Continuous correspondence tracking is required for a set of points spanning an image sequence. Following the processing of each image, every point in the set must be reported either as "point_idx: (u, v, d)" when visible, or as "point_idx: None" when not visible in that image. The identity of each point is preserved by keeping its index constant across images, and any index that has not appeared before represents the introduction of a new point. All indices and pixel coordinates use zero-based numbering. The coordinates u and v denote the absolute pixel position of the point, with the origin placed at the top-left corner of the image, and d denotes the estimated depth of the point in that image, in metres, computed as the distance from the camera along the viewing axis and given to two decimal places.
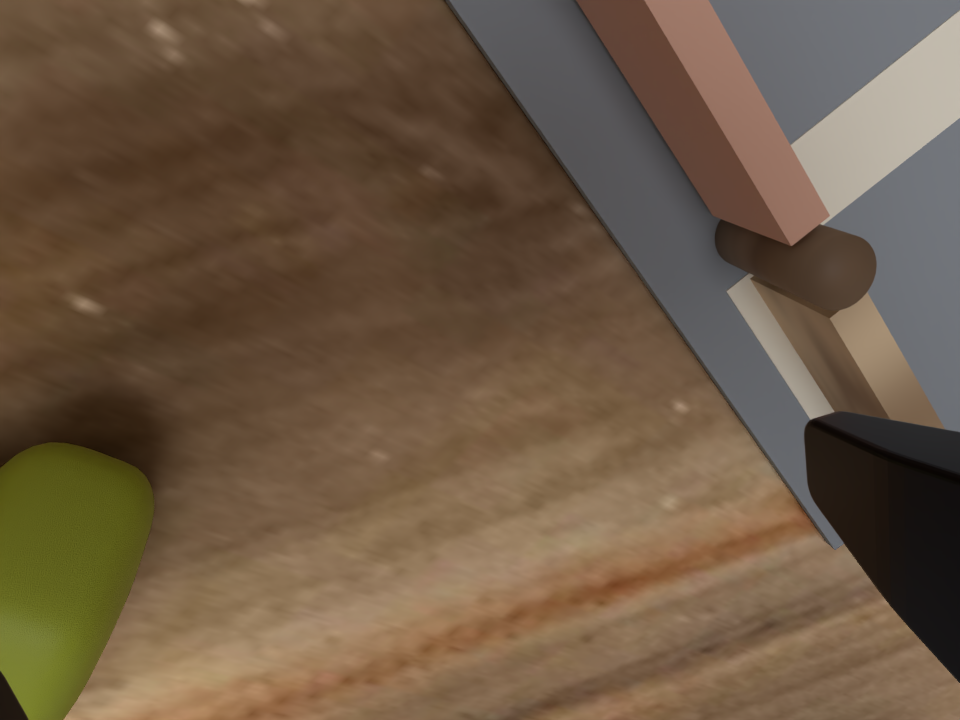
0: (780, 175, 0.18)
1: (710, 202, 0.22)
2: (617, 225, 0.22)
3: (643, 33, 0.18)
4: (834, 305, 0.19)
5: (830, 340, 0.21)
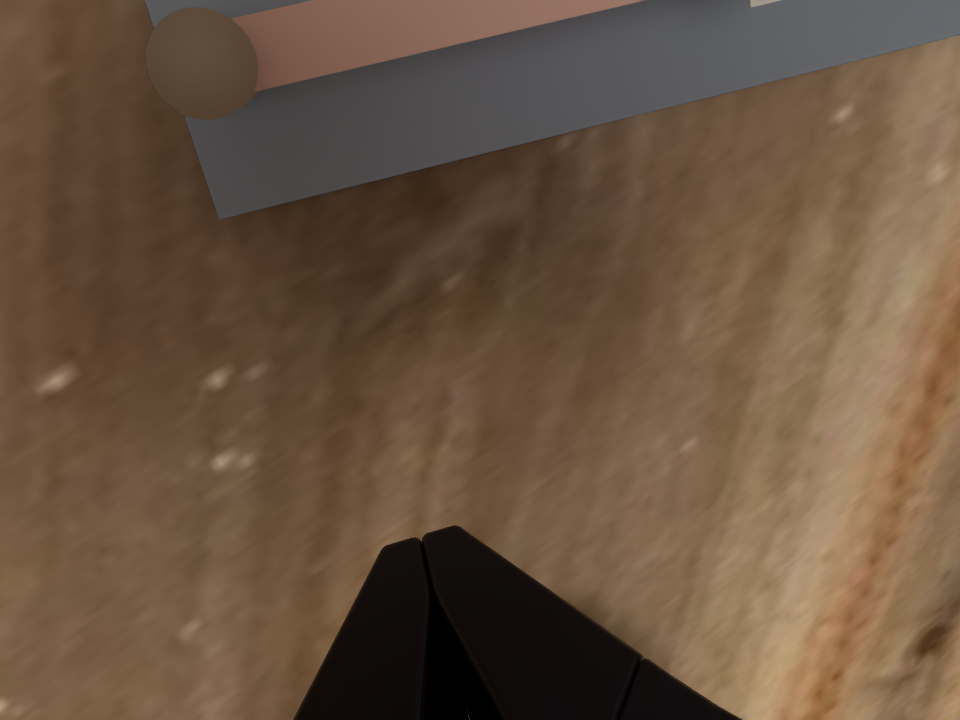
0: None
1: None
2: (605, 113, 0.19)
3: None
4: None
5: None
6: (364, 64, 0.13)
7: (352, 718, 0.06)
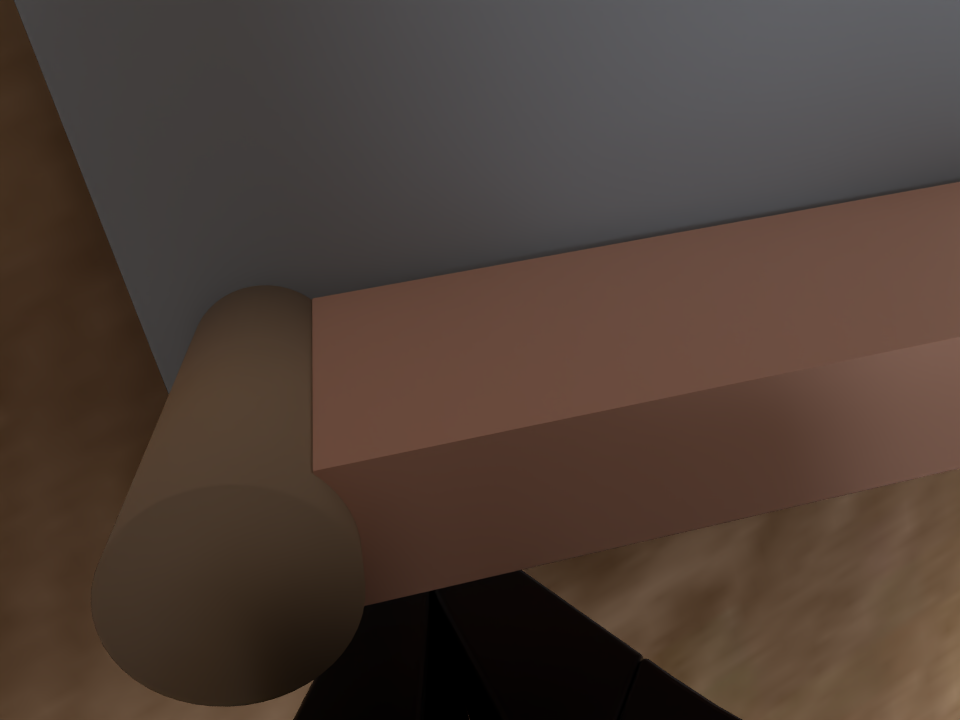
0: None
1: None
2: None
3: None
4: None
5: None
6: (595, 546, 0.06)
7: (352, 718, 0.06)
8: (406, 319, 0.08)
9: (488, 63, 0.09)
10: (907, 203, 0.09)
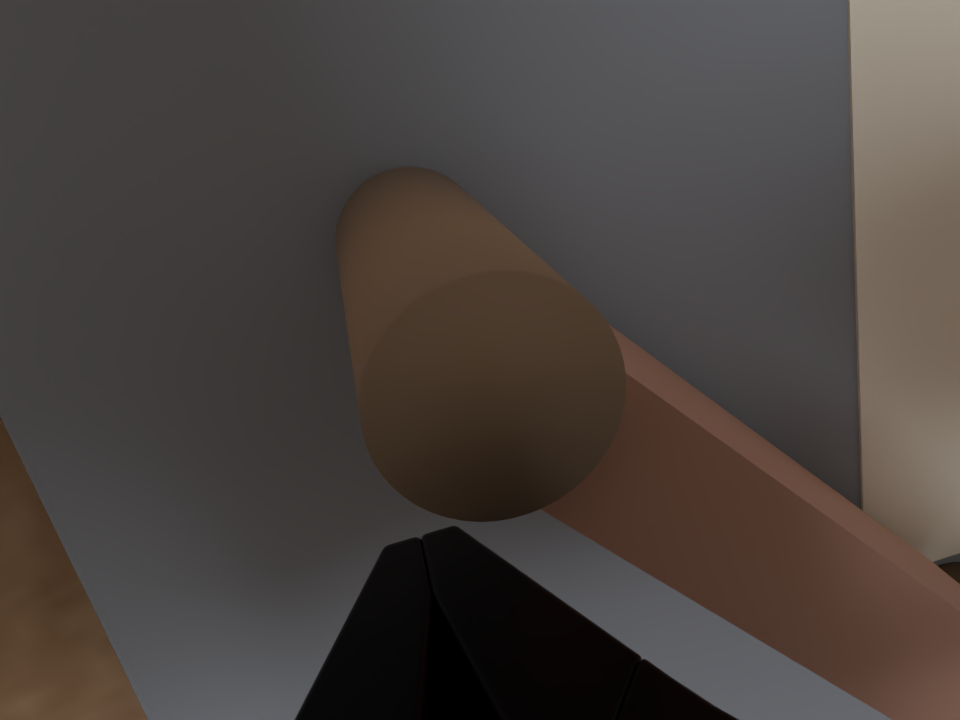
0: None
1: None
2: None
3: None
4: None
5: None
6: (688, 593, 0.06)
7: (353, 717, 0.06)
8: None
9: None
10: (885, 529, 0.11)
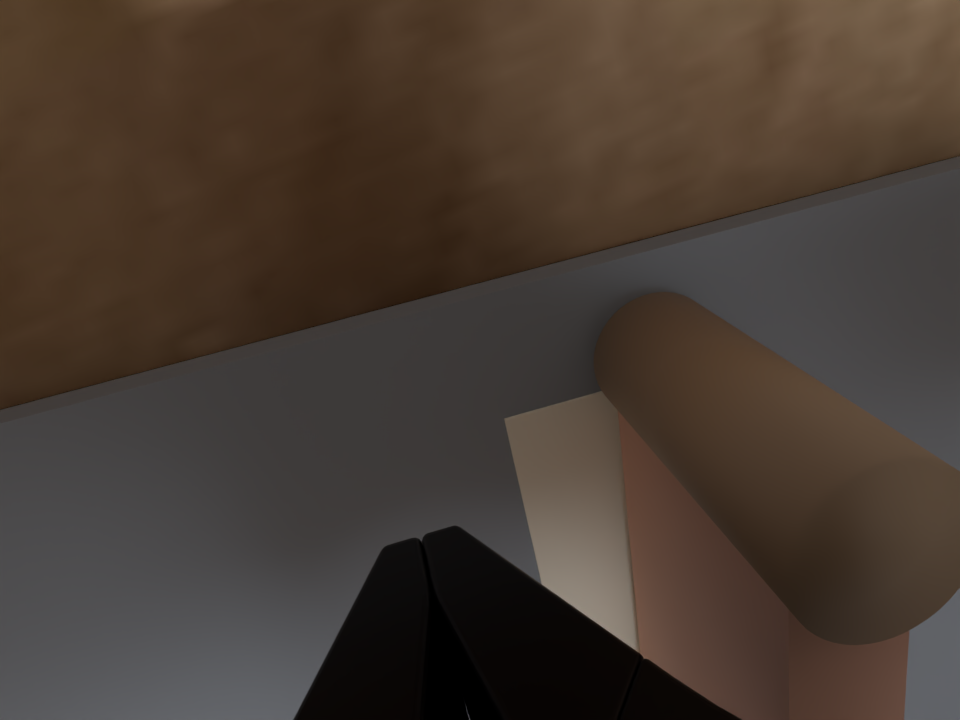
0: None
1: None
2: None
3: None
4: None
5: None
6: None
7: (352, 718, 0.06)
8: None
9: None
10: None
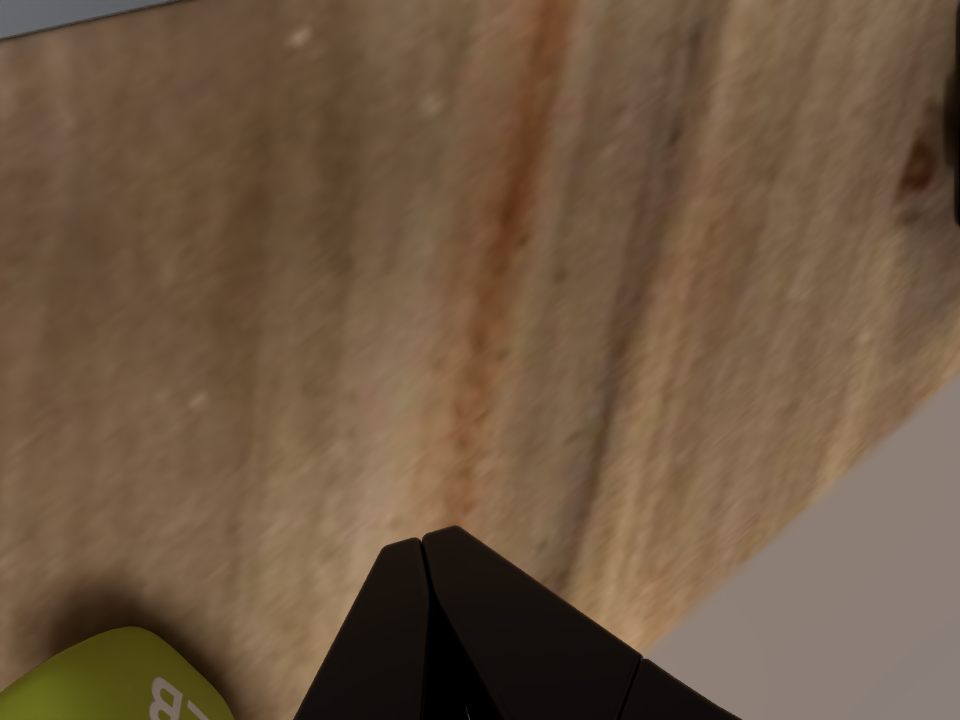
0: None
1: None
2: None
3: None
4: None
5: None
6: None
7: (352, 718, 0.06)
8: None
9: None
10: None
